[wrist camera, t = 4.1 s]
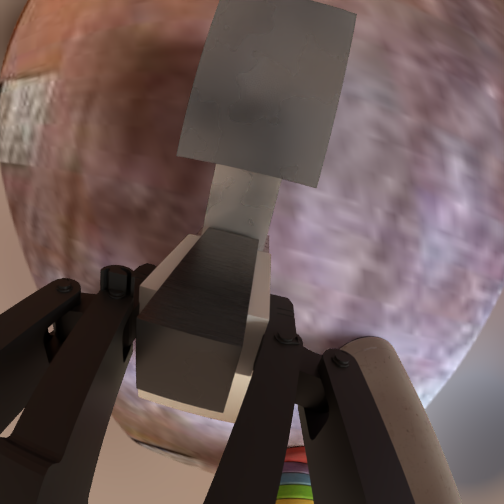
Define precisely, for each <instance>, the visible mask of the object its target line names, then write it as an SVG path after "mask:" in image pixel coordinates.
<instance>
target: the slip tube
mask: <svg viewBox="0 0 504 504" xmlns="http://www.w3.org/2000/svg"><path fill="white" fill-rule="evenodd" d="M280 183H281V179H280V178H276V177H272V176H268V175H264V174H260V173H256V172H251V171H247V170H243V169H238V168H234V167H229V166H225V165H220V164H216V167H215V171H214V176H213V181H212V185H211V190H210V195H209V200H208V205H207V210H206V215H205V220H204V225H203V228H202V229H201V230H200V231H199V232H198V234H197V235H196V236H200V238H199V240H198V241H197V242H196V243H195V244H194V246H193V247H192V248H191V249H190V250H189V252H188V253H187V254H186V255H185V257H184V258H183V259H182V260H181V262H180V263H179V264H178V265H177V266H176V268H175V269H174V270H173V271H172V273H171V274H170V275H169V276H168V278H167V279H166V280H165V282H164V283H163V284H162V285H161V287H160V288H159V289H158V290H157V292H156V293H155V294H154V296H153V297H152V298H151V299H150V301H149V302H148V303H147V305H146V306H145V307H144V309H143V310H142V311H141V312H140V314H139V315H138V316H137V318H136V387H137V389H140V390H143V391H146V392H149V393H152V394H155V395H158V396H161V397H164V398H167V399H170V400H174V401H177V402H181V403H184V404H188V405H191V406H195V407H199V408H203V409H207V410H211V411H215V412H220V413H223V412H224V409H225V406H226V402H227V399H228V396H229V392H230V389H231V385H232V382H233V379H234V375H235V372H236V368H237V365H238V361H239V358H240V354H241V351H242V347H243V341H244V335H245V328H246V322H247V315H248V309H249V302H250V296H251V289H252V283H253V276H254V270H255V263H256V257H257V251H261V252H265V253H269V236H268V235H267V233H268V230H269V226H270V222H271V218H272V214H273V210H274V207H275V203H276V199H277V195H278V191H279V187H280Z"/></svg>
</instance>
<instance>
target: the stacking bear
mask: <svg viewBox="0 0 504 504" xmlns="http://www.w3.org/2000/svg"><path fill="white" fill-rule="evenodd" d="M276 504H314V501H313V494H312V488H311V482H310V476H309V470H308V464H307V458H306V452H305V446H304V447H294V448H288V449H287V451H286V456H285V461H284V466H283V471H282V476H281V481H280V486H279V490H278V495H277V499H276Z"/></svg>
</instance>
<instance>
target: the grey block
mask: <svg viewBox="0 0 504 504" xmlns="http://www.w3.org/2000/svg"><path fill="white" fill-rule="evenodd" d="M356 16H357V14H355V13H352V12H349V11H346V10H343V9H339V8H336V7H333V6H329V5H326V4H322V3H319V2H315V1H311V0H220V1H219V4H218V6H217V9H216V12H215V15H214V18H213V21H212V24H211V27H210V30H209V33H208V36H207V39H206V42H205V45H204V49H203V52H202V55H201V58H200V62H199V65H198V69H197V72H196V76H195V79H194V83H193V87H192V91H191V94H190V98H189V102H188V106H187V110H186V114H185V119H184V123H183V127H182V132H181V136H180V141H179V145H178V150H177V155H176V156H180V157H185V158H190V159H195V160H201V161H206V162H210V163H215V164H220V165H225V166H229V167H234V168H238V169H243V170H247V171H251V172H256V173H260V174H264V175H268V176H272V177H276V178H280V179H284V180H288V181H291V182H295V183H299V184H303V185H306V186H310V187H313V188H317V185H318V181H319V177H320V174H321V170H322V166H323V162H324V158H325V155H326V151H327V147H328V143H329V139H330V135H331V131H332V127H333V123H334V119H335V114H336V110H337V106H338V102H339V97H340V93H341V89H342V84H343V80H344V75H345V71H346V66H347V61H348V57H349V52H350V47H351V42H352V37H353V32H354V27H355V21H356Z"/></svg>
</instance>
